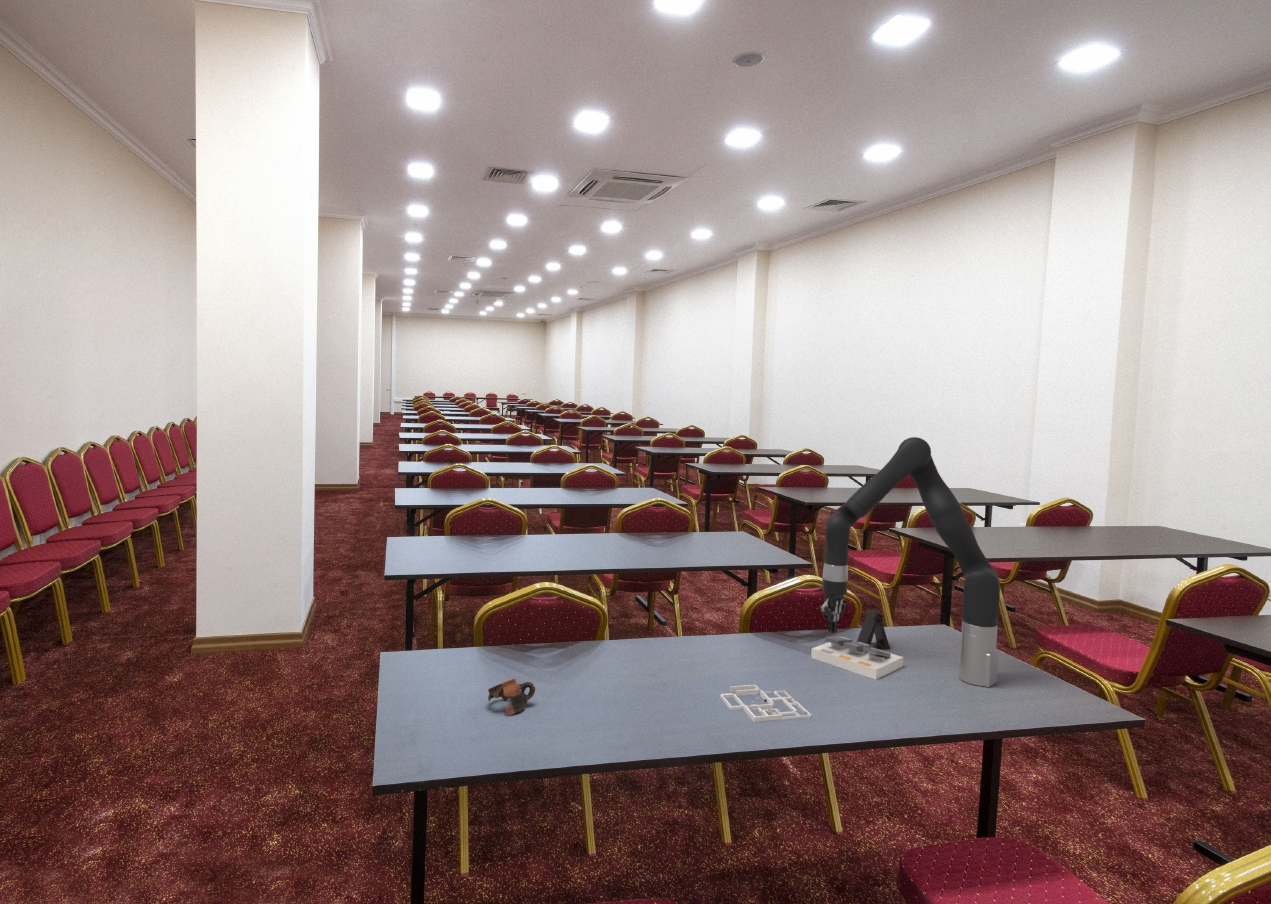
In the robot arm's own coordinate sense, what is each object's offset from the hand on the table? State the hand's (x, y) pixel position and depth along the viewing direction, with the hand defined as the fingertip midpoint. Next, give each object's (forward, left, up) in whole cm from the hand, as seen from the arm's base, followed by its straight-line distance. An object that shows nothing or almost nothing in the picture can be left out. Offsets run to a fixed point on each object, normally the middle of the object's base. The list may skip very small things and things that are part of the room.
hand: (832, 632), depth 216 cm
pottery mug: (+33, +96, -9) cm, 102 cm away
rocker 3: (-13, -4, -4) cm, 14 cm away
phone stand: (-3, -21, -9) cm, 22 cm away
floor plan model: (-6, +46, -9) cm, 48 cm away
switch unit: (-7, -4, -9) cm, 11 cm away
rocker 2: (-7, -4, -4) cm, 9 cm away
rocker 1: (0, -4, -4) cm, 5 cm away
